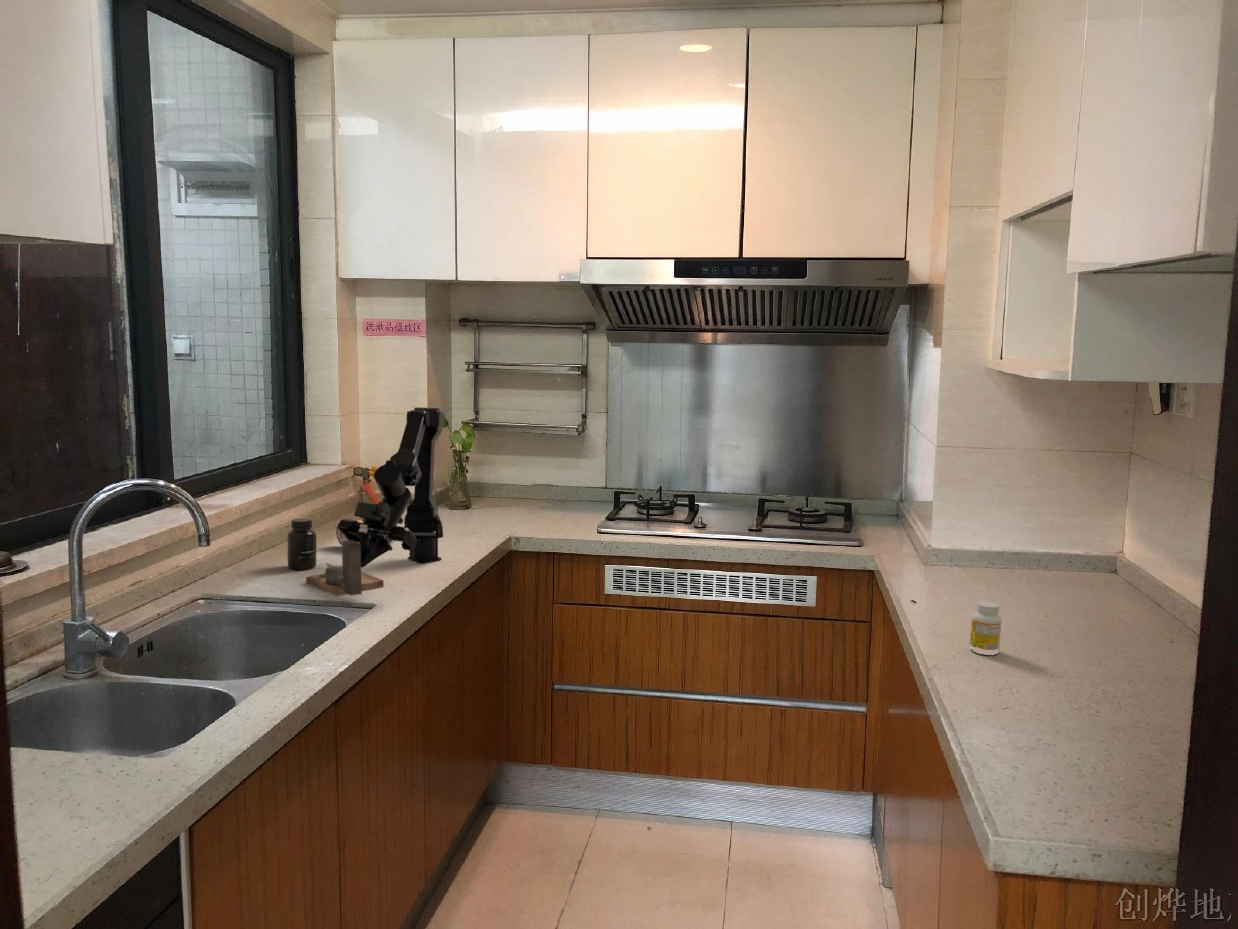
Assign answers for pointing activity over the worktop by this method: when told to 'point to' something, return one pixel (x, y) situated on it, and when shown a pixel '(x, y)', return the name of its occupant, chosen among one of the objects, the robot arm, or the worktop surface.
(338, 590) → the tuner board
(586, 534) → the worktop surface
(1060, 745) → the worktop surface
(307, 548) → the supplement bottle
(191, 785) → the worktop surface
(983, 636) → the supplement bottle
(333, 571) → the upright block on board
